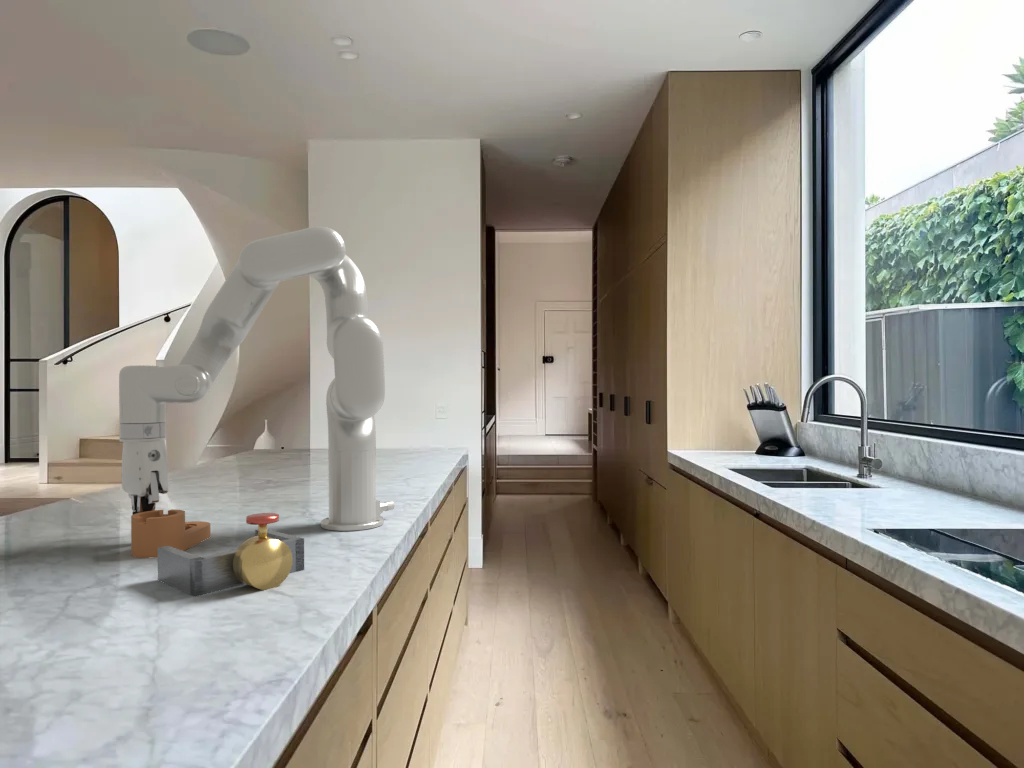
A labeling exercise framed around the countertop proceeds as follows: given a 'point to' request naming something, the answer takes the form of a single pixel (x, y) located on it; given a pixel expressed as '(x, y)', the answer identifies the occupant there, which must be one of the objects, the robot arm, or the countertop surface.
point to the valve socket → (235, 562)
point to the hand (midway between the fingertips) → (143, 532)
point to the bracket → (164, 532)
